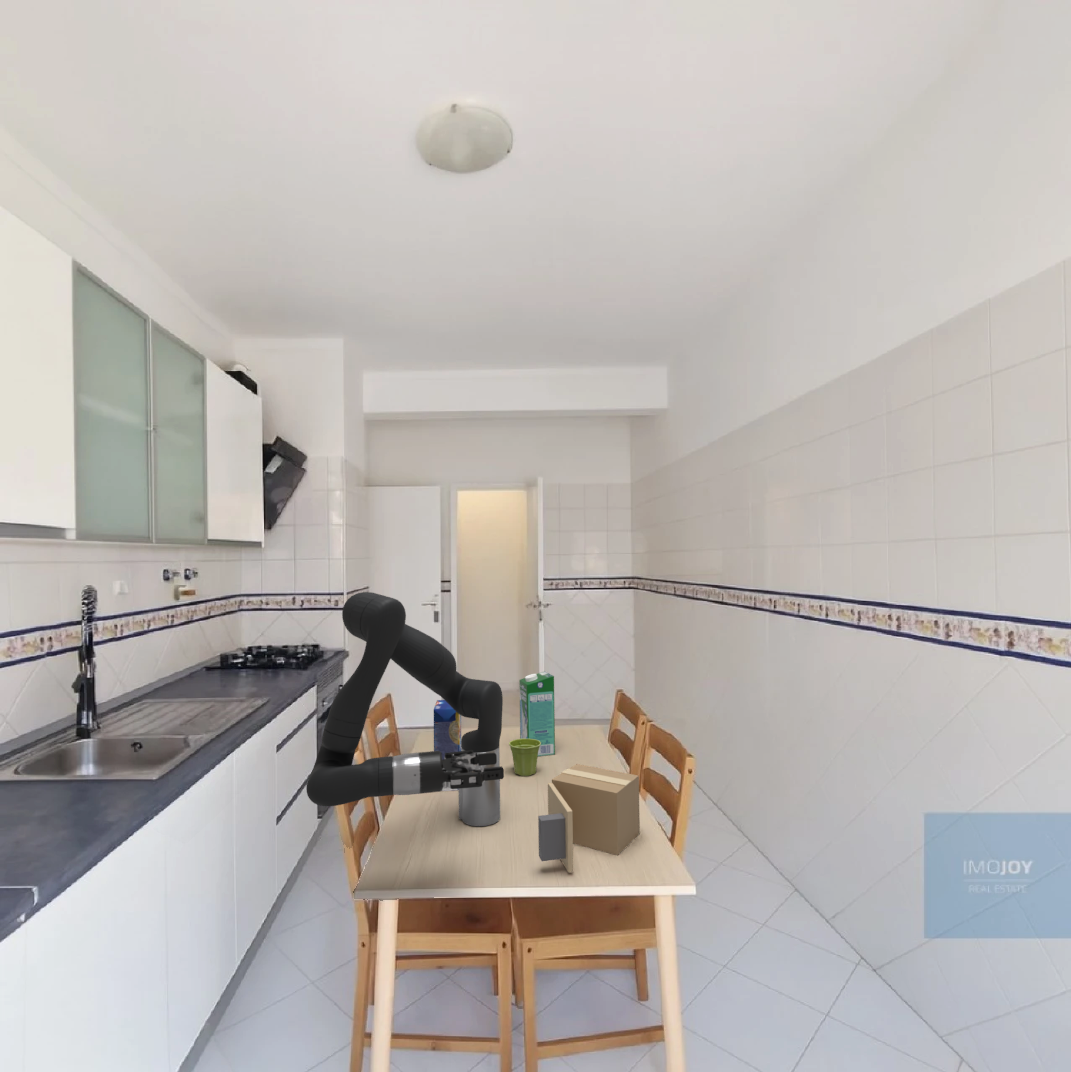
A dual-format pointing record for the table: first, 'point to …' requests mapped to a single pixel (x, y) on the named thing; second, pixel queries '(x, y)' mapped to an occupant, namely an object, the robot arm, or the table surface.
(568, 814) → the front flap
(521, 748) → the plant pot
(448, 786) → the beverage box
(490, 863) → the table surface
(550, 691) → the milk carton
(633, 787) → the carton
